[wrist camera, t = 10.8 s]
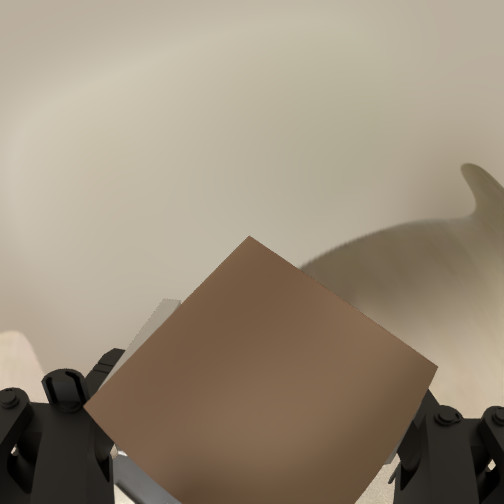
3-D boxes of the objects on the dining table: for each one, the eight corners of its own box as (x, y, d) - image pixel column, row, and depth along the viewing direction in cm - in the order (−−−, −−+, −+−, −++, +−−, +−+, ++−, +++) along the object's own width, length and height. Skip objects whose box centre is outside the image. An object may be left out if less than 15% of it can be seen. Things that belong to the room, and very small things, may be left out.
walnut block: (319, 405, 14) (438, 366, 5) (260, 476, 12) (290, 568, 3) (246, 351, 16) (249, 235, 7) (185, 419, 14) (82, 406, 5)
